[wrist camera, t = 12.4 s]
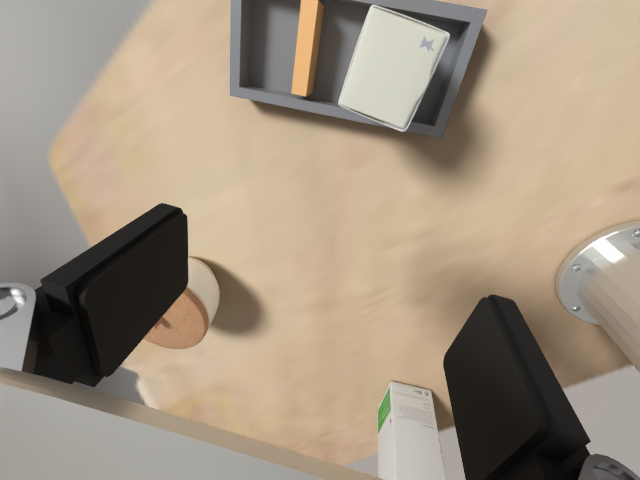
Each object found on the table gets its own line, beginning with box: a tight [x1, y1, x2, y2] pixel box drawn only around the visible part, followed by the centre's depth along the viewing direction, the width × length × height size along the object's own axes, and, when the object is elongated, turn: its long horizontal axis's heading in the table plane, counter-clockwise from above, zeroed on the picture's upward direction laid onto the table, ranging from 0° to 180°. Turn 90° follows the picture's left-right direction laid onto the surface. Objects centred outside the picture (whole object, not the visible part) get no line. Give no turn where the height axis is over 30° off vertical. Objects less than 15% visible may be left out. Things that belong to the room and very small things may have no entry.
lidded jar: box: [144, 257, 220, 349], centre depth 38 cm, size 11×11×9 cm
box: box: [338, 5, 450, 132], centre depth 21 cm, size 5×4×11 cm
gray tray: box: [230, 0, 487, 139], centre depth 25 cm, size 18×9×3 cm, turn 81°
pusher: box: [291, 0, 324, 96], centre depth 25 cm, size 1×6×3 cm, turn 171°
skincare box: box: [377, 381, 446, 480], centre depth 41 cm, size 8×7×16 cm
